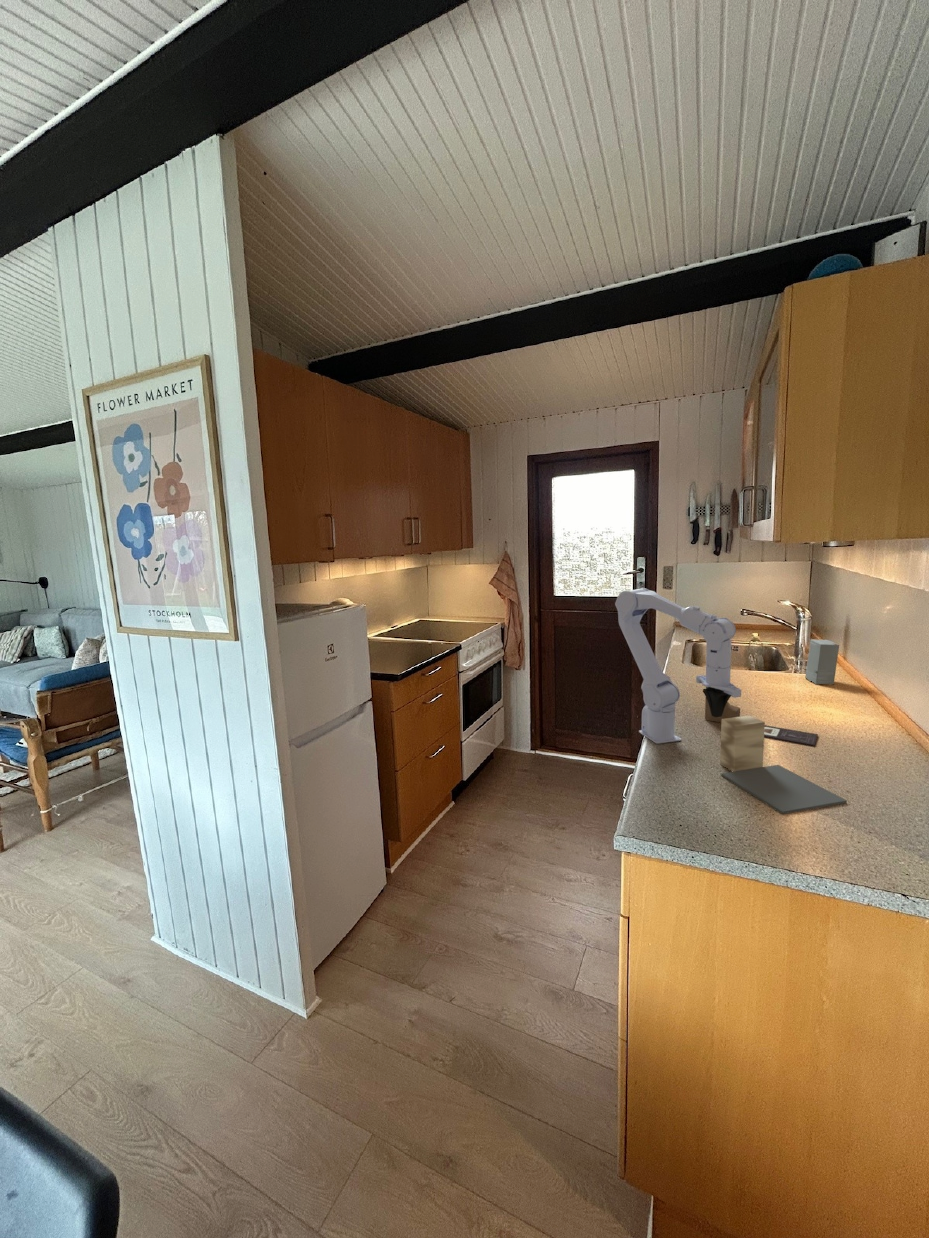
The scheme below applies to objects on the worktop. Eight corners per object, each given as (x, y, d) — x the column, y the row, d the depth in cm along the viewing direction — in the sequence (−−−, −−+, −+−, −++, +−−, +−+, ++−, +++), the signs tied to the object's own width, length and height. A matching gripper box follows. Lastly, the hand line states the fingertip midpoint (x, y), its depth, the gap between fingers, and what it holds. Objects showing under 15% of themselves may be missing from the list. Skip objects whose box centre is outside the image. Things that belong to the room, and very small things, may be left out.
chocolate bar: (814, 744, 134) (739, 731, 146) (814, 748, 135) (739, 734, 146) (817, 734, 141) (745, 721, 153) (817, 737, 141) (745, 724, 153)
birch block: (720, 764, 127) (721, 718, 125) (747, 760, 129) (749, 715, 127) (734, 772, 122) (736, 725, 120) (762, 768, 124) (764, 722, 122)
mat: (721, 775, 121) (721, 773, 121) (778, 766, 124) (778, 764, 124) (782, 814, 103) (782, 811, 103) (846, 802, 107) (846, 800, 106)
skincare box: (804, 678, 195) (807, 639, 192) (825, 678, 193) (827, 638, 191) (815, 685, 186) (818, 643, 184) (837, 685, 185) (840, 643, 183)
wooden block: (739, 721, 155) (742, 664, 152) (736, 725, 151) (738, 668, 148) (708, 715, 160) (710, 661, 158) (704, 720, 157) (706, 664, 154)
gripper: (686, 660, 136) (685, 709, 138) (724, 674, 122) (722, 727, 124) (709, 658, 137) (708, 706, 139) (749, 671, 123) (747, 724, 125)
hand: (716, 716), depth 131 cm, fingers closed
